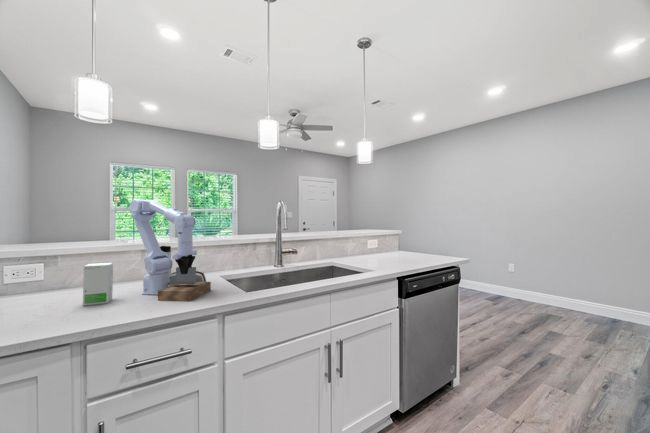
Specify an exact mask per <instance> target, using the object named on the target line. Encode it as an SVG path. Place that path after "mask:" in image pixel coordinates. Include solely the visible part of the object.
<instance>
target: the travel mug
mask: <svg viewBox="0 0 650 433" xmlns="http://www.w3.org/2000/svg"><path fill="white" fill-rule="evenodd" d="M160 249H161V250H162V251H163V252H165V253H167V254H168V256H169V257H170V258H171V259H172V253H171V252H172V250H171V249H172V247H171V245H161V246H160ZM171 274H172V268H171V269H170V271H169V272H168V282H169V285H170V281H169V277H170V275H171Z"/></svg>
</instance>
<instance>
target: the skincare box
mask: <svg viewBox="0 0 650 433" xmlns="http://www.w3.org/2000/svg"><path fill="white" fill-rule="evenodd" d="M113 277H114V263H113V262H104V263H103V262H98V263H88V264H85V265H84V266H83V279H82V280H83V285H82V287H83V289H82V306H84V307H85V306H93V305H102V304H104V305H105V304H108V303H110V302H111V301H112V300H113V288H114V287H113V285H114V284H113V283H114V280H113V279H114V278H113Z"/></svg>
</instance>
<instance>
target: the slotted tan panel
mask: <svg viewBox="0 0 650 433" xmlns="http://www.w3.org/2000/svg"><path fill="white" fill-rule="evenodd" d="M211 283H212V282H211V281H207V282H196V283H195V284H174V285H172V286H170V285H169V287H166V288H164V289H161V290H159V291H158V295H157V301H160V302H162V301H163V302H165V301H167V302H169V301H170V302H191V301H193V300H195V299H197V298H199V297H201V296H203V295H205V294H207V293H208V292H211V287H212V286H211Z"/></svg>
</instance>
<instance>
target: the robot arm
mask: <svg viewBox="0 0 650 433" xmlns="http://www.w3.org/2000/svg"><path fill="white" fill-rule="evenodd" d="M128 208H129V211H130V213H131V216H132V218H133V219H134V220H133V221H134V223H135V224H134V225H135V226H136V229H137V230H138V234H139V236H140V238H141V242H142V243H143V246H144V248H145V250H146V253H147V255H146V257H144V260H143V262H144V269H145V271H146V274H145V275H144V276H143V280H142V282H143V283H142V286H143V287H142V288H143V292H142V293H141V294H142V295H156V296H158V291H159V290H161V289H164V288H166V287H169V286H170V284H169V282H168V272H169V271H170V269H171V270H172V268H173V260H174V262H176V264H177V265H178V267H179V269H180V272H181V274H187V267H193V266H192V265H193V263H194V261H195V259H196V255H198V250H197V249H195V250H194V248H193V244H194V243H193V227H195V225H196V218H195V217H194V216H193V215H192V214H186V213H185V212H183V211H179V210H178V208H177V207H169V208H168V207H166V206H165V205H164V204H162V203H160V201H157V200H155V199H140V198H133V199H132V200H131V201H130V204H129V207H128ZM156 213H158V214H160V215H162V216H163V218H164V219H165V220H166V221H168V222H171V223H172V224H174V226H175V229H176V232H177V253H175V254H174V253H173V254H171V258H170V257H169V256H168V254H167V253H165V252H163V251H162V250H161V249H160V247H161V246H160V244H159V242H158V239H157V236H156V235H155V232H154V229H153V227H152V225H151V223H150V220H151V219H153V217H154V216H155V214H156Z"/></svg>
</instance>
